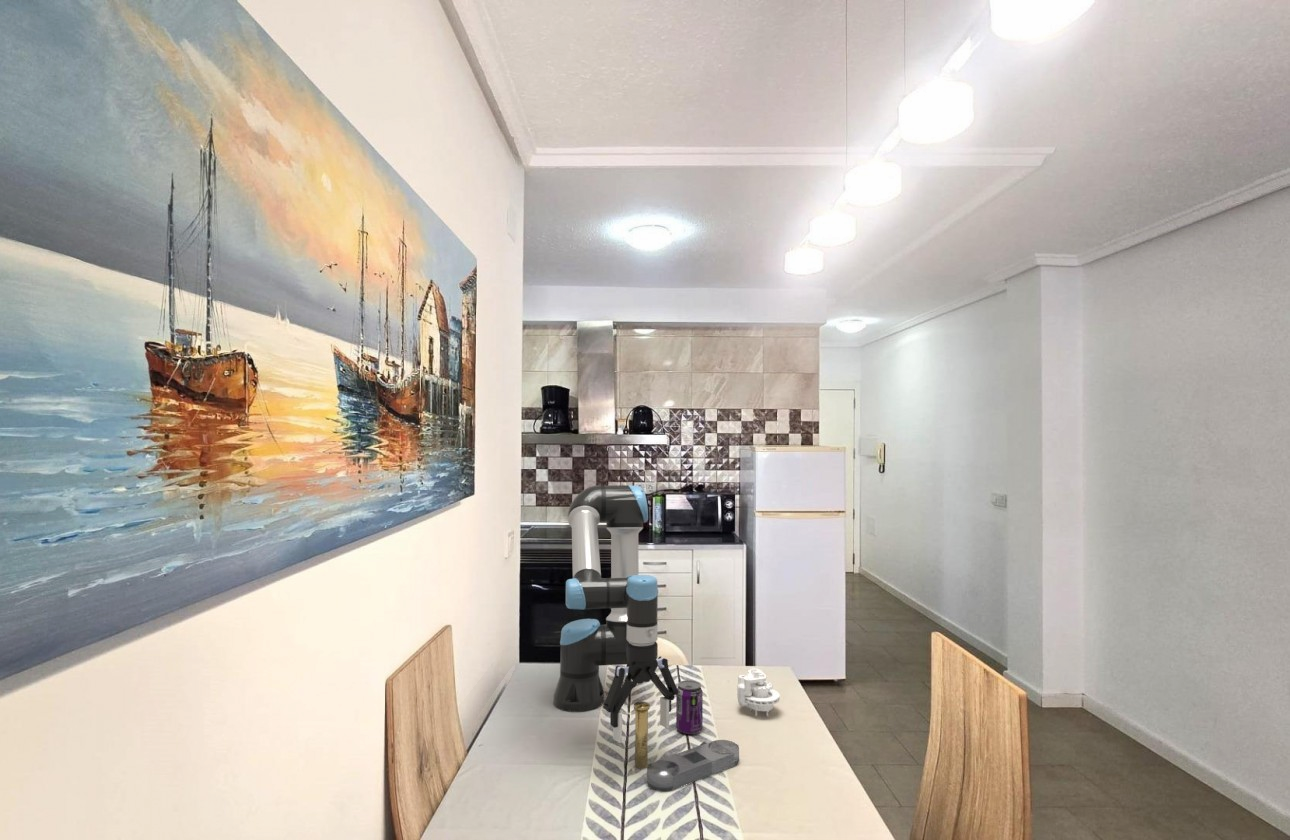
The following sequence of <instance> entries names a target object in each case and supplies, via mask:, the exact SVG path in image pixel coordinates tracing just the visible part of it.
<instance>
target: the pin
mask: <svg viewBox="0 0 1290 840" xmlns="http://www.w3.org/2000/svg"><path fill="white" fill-rule="evenodd" d="M633 710H634V711H635V713H634V715H635V721H634V722H635V724H634V725H635V727H634V728H635V730H634V731H635V732H634V766H635V767H636V768H638V769H645V768H646V769H647V766H648V765H649V764H648V761H649V760H648V757H649V755H648V753H649V752H648V748H649V745H648V744H649V743H648V742H649V741H648V739H649V738H648V737H649V734H648V733H649V724H648V723H649V710H650V702H647V701H643V700H642V701H635V703H633Z"/></svg>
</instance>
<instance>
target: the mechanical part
mask: <svg viewBox="0 0 1290 840" xmlns="http://www.w3.org/2000/svg"><path fill="white" fill-rule="evenodd" d="M737 678H738V679H737V681H738V682H737V694H736V695H737V697H736V698H737V703H738V704H739V707H748V708H749V712H753V711H754V715H755V717H758V712H766V713H765V714H766V715H765V716H766V717H769V712H770V711H771V710H773V709H774V705H776V704H778V703H779V702H780V693H779V692H778V691H776V690H775V689H773V688H774V687H773V686H774V685H773V684H772V682H769V681H767V675H766V673H764V672H763V671H762V670H761V669H759V668H755V667H754V668H750V669H748V671H747V675H746V674H745V675H744V674H741V675H740V674H739V675H738V677H737Z"/></svg>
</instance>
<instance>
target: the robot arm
mask: <svg viewBox="0 0 1290 840" xmlns="http://www.w3.org/2000/svg"><path fill="white" fill-rule="evenodd" d="M647 501H648V500H647V496H646V493H645V490H644V489H643V487H642V486H640V485H630V484H627V485H626V484H625V485H624V484H623V485H620V484H619V485H597V484H596V485H593V486H589V487H587V488H585V489H583V490H582V491H581V492H579V493H578V494H577V495H576V496H575V498H574V499H573V500H572V502H571V504H570V505H569V510H568V515H567V519H568V525H569V526H570V527H571V545H572V546H571V547H572V548H571V549H572V551H571V554H572V557H571V558H572V559H571V560H572V562H571V563H572V578H569V579H567V580H566V581H565V606H566V608H567V609H570V610H583V611H584V610H592V609H593V610H597V609H610V610H611V611H610V613H609V614H608V616H606V618H605V621H606V624H601V623H600V621H599V620H598V619H596V618H582V619H577V620H573V621H570V622H568V623H567V624H565V625H564V626H563V627H562V628H561V631H560V641H559V644H560V663H559V666H560V667H559V669H560V670H559V677H558V680H557V681H558V682H557V684H556V687H555V691H554V694H553V705H554V706H555V707H556V708H557V709H559V710H563V711H565V712H574V713H575V712H579V713H581V712H587V711H592V710H595V709H598V708H599V707H602V709H604V710H605V711H606V712H607V713H610V717H609V719H610V726H611V727H612V730H613V731H612V739H613V740H614V741H616V742H617V743H619V744H620V743H623V712H621V709H622V707H623V705H624V704H625V702H626V701H627V699H628V698H629V695H630V694H631V692H632V690H633V689H634V688H635V687H636V686H637V685H641V684H643V683H649V682H650V681H651V682H652V684H653V685H654V686H655V687H656V689H657V690H658V691H659V692H660V693H661V695H662V696H661V697H659V699H660V704H659V705H660V706H659V710H660V711H659V713H660V715H659V718H660V719H659V722H660V723H659V724H660V725H661V726H662V727H663V728H665V729H670V713H671V712H672V701H674V699H675V696H676V695H677V694H678V689H677V688H678V686H677V685H676V683H675V680H674V678H673V676H672V673H671V670H670V668H669V660H668V659H667V658H665V657H662V656H658V646H659V644H658V642H657V641H658V632H659V631H658V625H659V624H658V605H659V604H658V602H659V601H658V599H659V597H658V596H659V595H658V594H659V589H658V579H657V578H656V577H655V576H654V575H653V576H652V575H649V574H640V573H639V571H640V569H639V564H640V563H639V533H640V532H641V531H642V530H643V529H644V524H645V523H647V522H648V520H649V508H648V502H647ZM599 523H605V524H606V530H607V531H608V532H609V533H610V535H611V537H610V539H611V540H610V543H611V544H610V547H611V551H610V554H611V557H610V560H611V562H610V564H611V565H610V566H611V567H610V569H611V570H610V571H611V574H610V575H611V576H610V577H606V578H604V577H602V572H601V570H602V569H601V560H600V558H601V555H600V545H599V544H600V543H599V534H598V526H599ZM621 665H622V666H621ZM623 665H626V666H623ZM600 666H615V668H614V676H613V679H612V682H611V684H610V687H609V689H608V692H607V695H606V696H605V691H604V687H603V685H602V681H601V680H602V679H601V677H600V673H599V672H600V670H599V669H600ZM658 668H659V671H660V673H661V674H660V675H661V676H662V678H663V681H664V682H663V681H662V680H661V679H660V676H659V675H658V674H657V672H656V671H657V669H658ZM631 680H632V681H631ZM664 683H665V684H664Z"/></svg>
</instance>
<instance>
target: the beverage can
mask: <svg viewBox="0 0 1290 840" xmlns="http://www.w3.org/2000/svg"><path fill="white" fill-rule="evenodd" d="M701 686H702V685H701V683H700V682H699V681H696V680H691V679H690V680H688V679H687V680H681V681H679V682H678V683H677V689H678V694H677V695H675V697H676V698H675V699H676V700H675V701H676V703H675V704H676V707H675V711H676V713H675V715H676V716H675V717H676V720H675V728H676V729H677V731H679V732H681V733H682V732H683V733H682V734H685V733H686V734H685V735H695V734H698V733H699V732H701V731H702V730H703V727H704V724H703V722H704V721H703V719H704V718H703V713H704V712H703V708H704V706H703V702H704V701H703V697H704V696H703V690H702V687H701ZM694 733H695V734H694Z"/></svg>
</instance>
